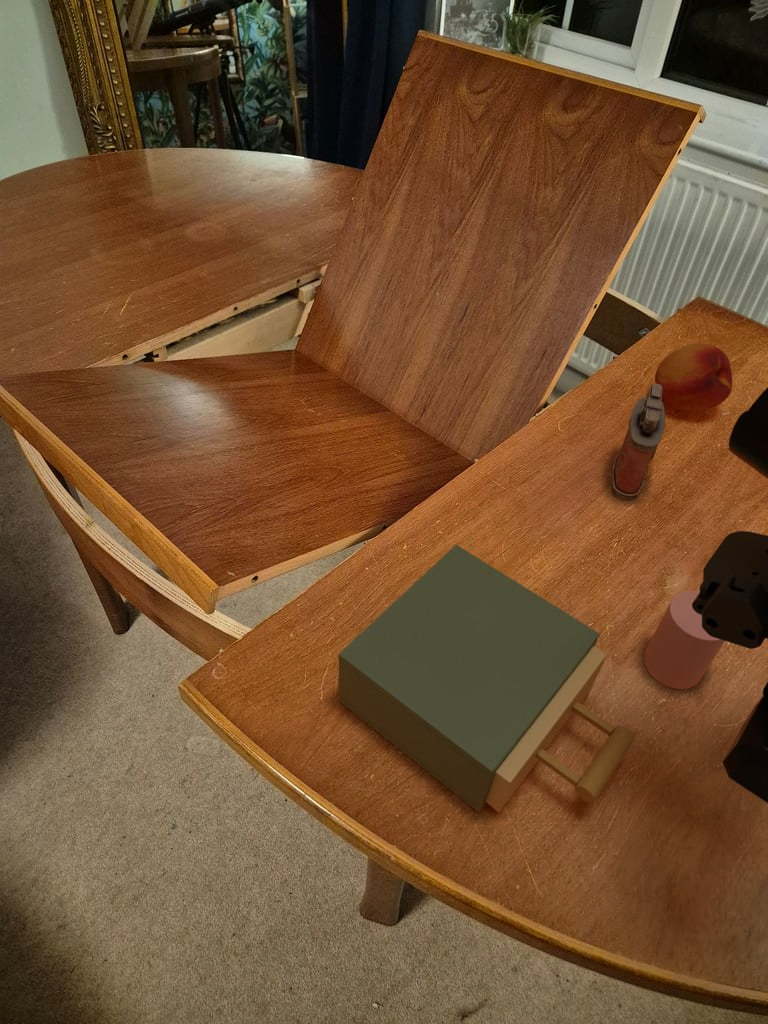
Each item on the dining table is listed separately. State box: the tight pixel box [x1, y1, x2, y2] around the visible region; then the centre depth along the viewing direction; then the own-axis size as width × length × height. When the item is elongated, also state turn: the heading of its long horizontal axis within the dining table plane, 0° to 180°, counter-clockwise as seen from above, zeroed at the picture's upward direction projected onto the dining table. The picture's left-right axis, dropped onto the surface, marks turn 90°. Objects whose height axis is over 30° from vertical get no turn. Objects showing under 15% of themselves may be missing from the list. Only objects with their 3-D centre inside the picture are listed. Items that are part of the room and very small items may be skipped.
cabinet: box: [338, 544, 600, 813], centre depth 58 cm, size 14×15×7 cm
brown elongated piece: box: [610, 382, 666, 502], centre depth 76 cm, size 8×3×10 cm, turn 161°
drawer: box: [486, 645, 635, 813], centre depth 56 cm, size 17×13×5 cm
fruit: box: [654, 343, 733, 413], centre depth 86 cm, size 8×8×8 cm
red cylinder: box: [643, 590, 726, 690], centre depth 60 cm, size 5×5×7 cm
